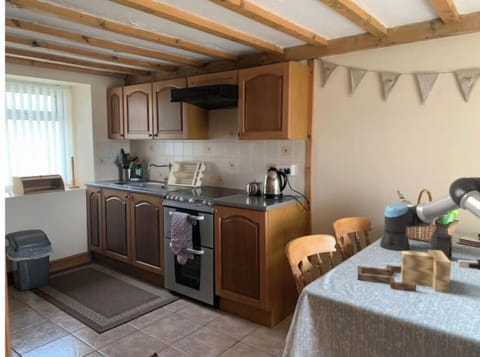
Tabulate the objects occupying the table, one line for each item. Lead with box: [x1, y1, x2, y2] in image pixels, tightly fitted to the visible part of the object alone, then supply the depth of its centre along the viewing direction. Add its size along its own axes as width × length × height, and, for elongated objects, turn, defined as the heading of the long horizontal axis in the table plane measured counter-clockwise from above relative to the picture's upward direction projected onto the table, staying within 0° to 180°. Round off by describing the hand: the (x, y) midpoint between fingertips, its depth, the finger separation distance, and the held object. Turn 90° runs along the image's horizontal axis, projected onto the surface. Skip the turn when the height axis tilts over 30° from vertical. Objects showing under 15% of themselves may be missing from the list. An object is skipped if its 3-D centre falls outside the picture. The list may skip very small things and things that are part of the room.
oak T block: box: [400, 249, 452, 294], centre depth 149 cm, size 16×16×12 cm
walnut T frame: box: [357, 264, 417, 293], centre depth 154 cm, size 22×22×2 cm
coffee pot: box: [428, 217, 453, 249], centre depth 206 cm, size 21×12×15 cm, turn 151°
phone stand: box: [434, 233, 453, 260], centre depth 183 cm, size 9×6×12 cm, turn 138°
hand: (458, 263), depth 145 cm, fingers closed
